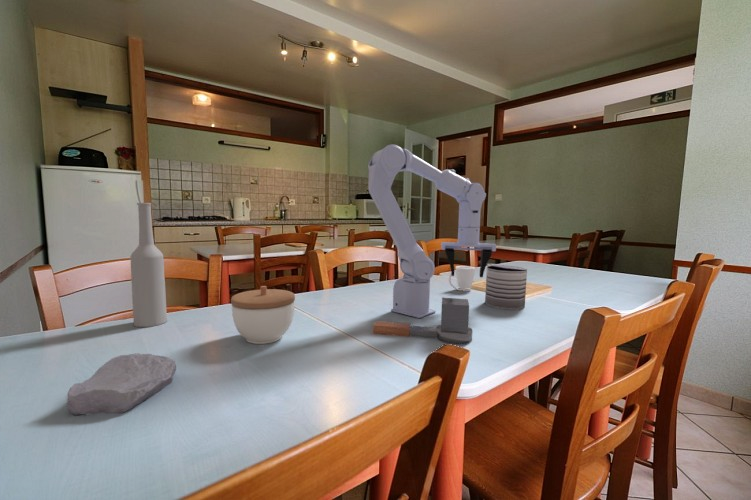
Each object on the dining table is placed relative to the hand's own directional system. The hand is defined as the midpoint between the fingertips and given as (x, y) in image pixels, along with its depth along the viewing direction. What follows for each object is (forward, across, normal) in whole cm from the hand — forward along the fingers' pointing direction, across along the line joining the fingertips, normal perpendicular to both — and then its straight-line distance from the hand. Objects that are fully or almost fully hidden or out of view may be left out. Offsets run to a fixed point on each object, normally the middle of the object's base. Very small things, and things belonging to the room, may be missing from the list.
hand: (466, 276), depth 97 cm
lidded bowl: (+10, -43, -34) cm, 56 cm away
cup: (+10, 0, +26) cm, 27 cm away
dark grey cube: (+7, -4, -24) cm, 26 cm away
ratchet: (+10, -11, -24) cm, 28 cm away
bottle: (+10, -74, -31) cm, 81 cm away
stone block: (+10, -50, -59) cm, 78 cm away
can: (+10, +12, +8) cm, 17 cm away
